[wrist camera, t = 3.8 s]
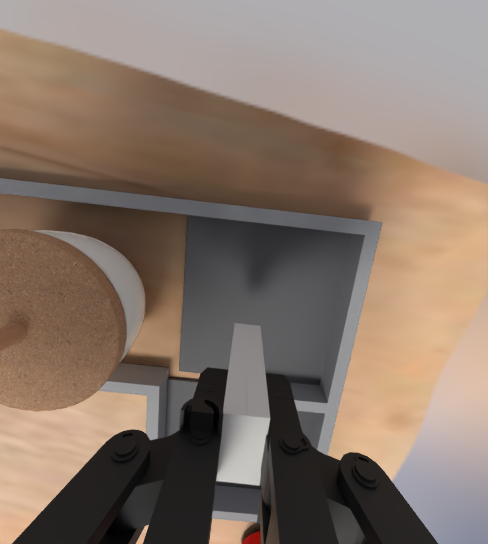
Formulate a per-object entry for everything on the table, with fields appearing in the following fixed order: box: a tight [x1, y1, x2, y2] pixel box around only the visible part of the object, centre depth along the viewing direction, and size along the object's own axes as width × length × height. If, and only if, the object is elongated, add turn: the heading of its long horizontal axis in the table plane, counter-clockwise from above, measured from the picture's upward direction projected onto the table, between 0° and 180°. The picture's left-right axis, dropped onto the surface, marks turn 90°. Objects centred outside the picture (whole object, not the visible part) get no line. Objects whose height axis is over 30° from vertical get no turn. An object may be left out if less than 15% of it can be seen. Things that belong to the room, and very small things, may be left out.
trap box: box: [0, 178, 382, 523], centre depth 20 cm, size 45×29×4 cm, turn 84°
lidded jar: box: [0, 229, 145, 411], centre depth 16 cm, size 11×11×9 cm
